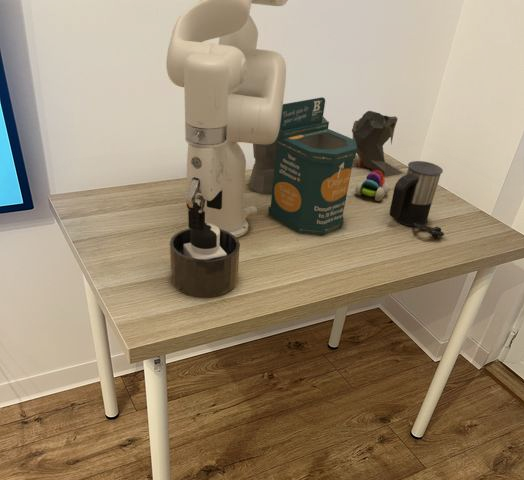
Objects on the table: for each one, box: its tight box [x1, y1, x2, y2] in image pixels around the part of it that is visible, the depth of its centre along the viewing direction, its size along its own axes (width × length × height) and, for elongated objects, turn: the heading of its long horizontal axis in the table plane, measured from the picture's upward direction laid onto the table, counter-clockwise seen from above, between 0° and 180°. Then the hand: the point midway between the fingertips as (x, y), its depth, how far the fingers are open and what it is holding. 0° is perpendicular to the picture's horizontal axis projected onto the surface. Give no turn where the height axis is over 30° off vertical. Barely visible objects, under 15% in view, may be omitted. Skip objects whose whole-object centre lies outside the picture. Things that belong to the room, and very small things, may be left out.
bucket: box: [169, 227, 241, 298], centre depth 113 cm, size 14×14×9 cm
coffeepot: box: [248, 142, 276, 195], centre depth 149 cm, size 15×9×18 cm, turn 37°
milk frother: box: [389, 160, 445, 238], centre depth 139 cm, size 14×16×15 cm
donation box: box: [267, 97, 357, 236], centre depth 133 cm, size 16×16×28 cm
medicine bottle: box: [183, 223, 227, 260], centre depth 112 cm, size 7×7×12 cm
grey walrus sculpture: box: [351, 110, 403, 178], centre depth 169 cm, size 14×15×18 cm
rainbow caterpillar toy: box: [354, 170, 391, 202], centre depth 155 cm, size 8×10×7 cm
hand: (205, 218), depth 107 cm, fingers open, 9 cm apart
